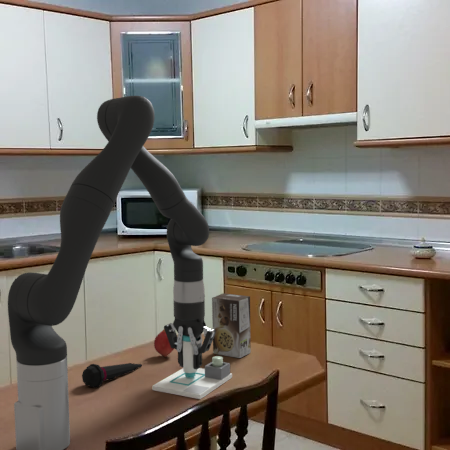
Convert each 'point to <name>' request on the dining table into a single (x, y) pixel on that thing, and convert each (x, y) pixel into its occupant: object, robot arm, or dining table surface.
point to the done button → (217, 361)
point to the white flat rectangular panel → (189, 384)
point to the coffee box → (231, 325)
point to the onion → (162, 344)
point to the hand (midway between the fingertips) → (190, 366)
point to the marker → (188, 357)
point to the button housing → (217, 371)
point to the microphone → (105, 373)
